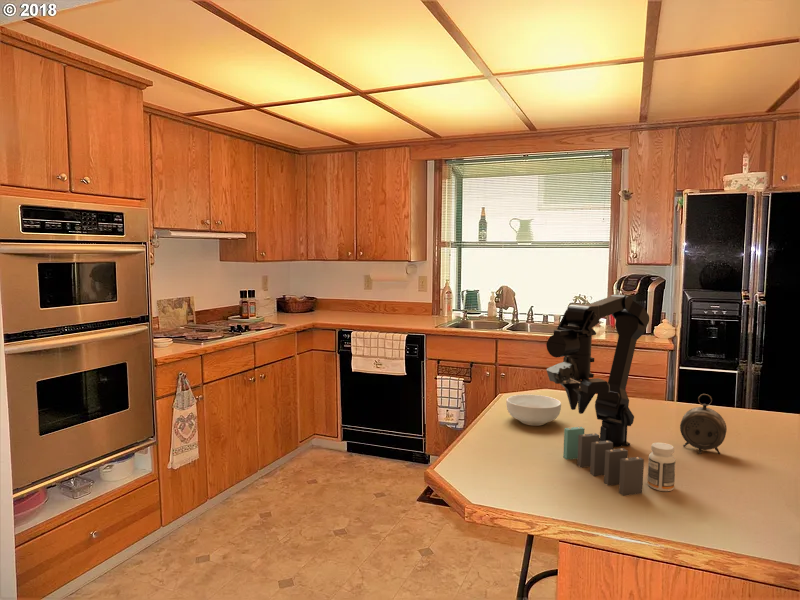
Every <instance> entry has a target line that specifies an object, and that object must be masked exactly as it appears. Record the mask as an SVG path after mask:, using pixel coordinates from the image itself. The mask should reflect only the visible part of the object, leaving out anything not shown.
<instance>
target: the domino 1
mask: <svg viewBox="0 0 800 600" xmlns="http://www.w3.org/2000/svg"><path fill="white" fill-rule="evenodd" d="M563 433H564V434H563V452H562V453H563V455H562V457H563V458H564V459H565V460H567V461H568V459H569V460H578V435H582V434H585V428H584V427H583V426H576V427H575V426H573V427H564V431H563Z"/></svg>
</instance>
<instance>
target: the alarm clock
mask: <svg viewBox="0 0 800 600" xmlns="http://www.w3.org/2000/svg"><path fill="white" fill-rule="evenodd" d="M702 396H707V397H709V399H710V403H709V404H706V403H701V402H700V399H701V397H702ZM697 400H698V401H697V402H698V403H699V405H702V406H698V407H693V408H690V409H689V410H687V411H686V412H685V413H684V414H683V416H682V419H681V421H680V425H679V430H680V435H681V436H682V438H683V439H684V441H685V443H684V444H683V445H682V447H683V448H686V447H687V446H688V445H690V446H691V447H693V448H695V449H698V454H699V455H701V454H702V451H703V450H704V451H708V450H709V451H710V450H711V451H712V450H715V451H716V452H717V454H718V455H721V451H720V450H719V448H718V447H720V446H721V445H722V444H723V442H724V441H725V438H726V434H727V432H728V431H727V423H726V421H725V419H724V417H723V416H722V415H721V414H720V413H719V412H717V411H715V410H714V409H712V408H709V407H708V406H710V405H711V404H712V402H713V398H712V396H711V395H709V394H708V393H707V394H706V393H702V394H700V395H699V396H698V397H697Z"/></svg>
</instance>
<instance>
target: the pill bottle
mask: <svg viewBox="0 0 800 600" xmlns="http://www.w3.org/2000/svg"><path fill="white" fill-rule="evenodd" d="M650 449H651V452H650V453H649V455H648V465H647V466H648V469H647V485H648V486H649V487H650V488H652V489H653V490H656V491H658V492H671V491H673V490H674V489H675V483H676V482H675V481H676V460H677V459H676V457H675V456H674V455H673V454H674V452H675V451H674V450H675V449H674V446H673V445H672V444H669V443H666V442H658V441H657V442H653V443H651V447H650Z"/></svg>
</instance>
